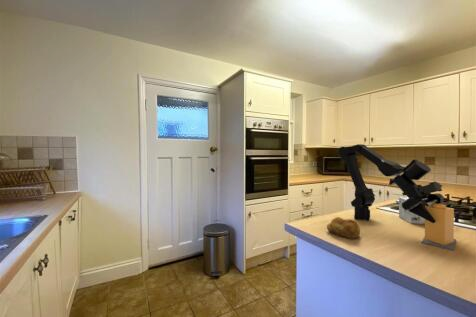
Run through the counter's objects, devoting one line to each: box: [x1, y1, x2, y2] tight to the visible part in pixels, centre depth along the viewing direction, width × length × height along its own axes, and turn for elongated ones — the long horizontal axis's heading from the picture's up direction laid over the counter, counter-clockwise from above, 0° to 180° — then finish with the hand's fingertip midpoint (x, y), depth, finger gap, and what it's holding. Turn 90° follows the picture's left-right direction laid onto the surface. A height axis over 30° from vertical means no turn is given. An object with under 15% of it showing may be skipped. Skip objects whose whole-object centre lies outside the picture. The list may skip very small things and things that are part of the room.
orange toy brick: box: [424, 203, 455, 245], centre depth 80 cm, size 6×6×14 cm
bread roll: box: [326, 217, 361, 240], centre depth 89 cm, size 13×10×8 cm
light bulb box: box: [398, 196, 427, 225], centre depth 105 cm, size 11×7×11 cm, turn 168°
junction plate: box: [421, 236, 457, 251], centre depth 80 cm, size 12×8×5 cm
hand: (441, 220), depth 80 cm, fingers open, 9 cm apart
